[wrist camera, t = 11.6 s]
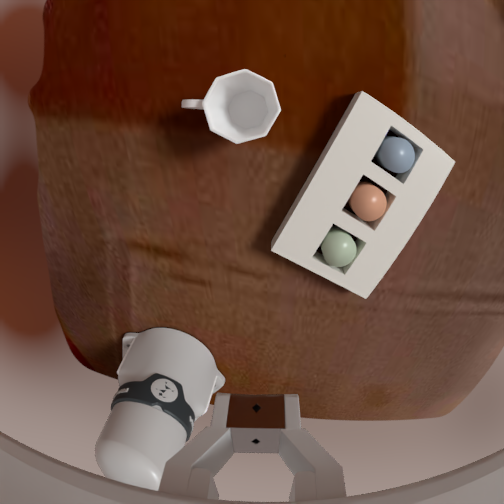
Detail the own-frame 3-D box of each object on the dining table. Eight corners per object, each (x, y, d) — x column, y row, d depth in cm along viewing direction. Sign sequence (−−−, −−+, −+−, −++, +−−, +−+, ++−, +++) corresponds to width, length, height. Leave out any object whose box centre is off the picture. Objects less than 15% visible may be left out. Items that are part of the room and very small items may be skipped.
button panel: (360, 287, 39) (366, 298, 37) (271, 240, 38) (270, 250, 35) (443, 158, 31) (455, 161, 28) (355, 93, 29) (362, 90, 27)
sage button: (340, 261, 38) (344, 272, 35) (313, 247, 37) (316, 257, 35) (356, 235, 36) (362, 245, 33) (330, 220, 36) (334, 229, 33)
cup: (276, 143, 33) (276, 148, 25) (190, 135, 33) (167, 139, 26) (283, 84, 30) (285, 72, 23) (196, 77, 30) (174, 66, 23)
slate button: (394, 175, 33) (403, 179, 30) (368, 157, 32) (376, 160, 29) (409, 148, 31) (420, 150, 28) (384, 129, 30) (393, 130, 28)
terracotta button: (367, 219, 35) (374, 227, 32) (341, 203, 35) (346, 210, 32) (384, 192, 34) (392, 198, 31) (358, 175, 33) (365, 179, 30)
